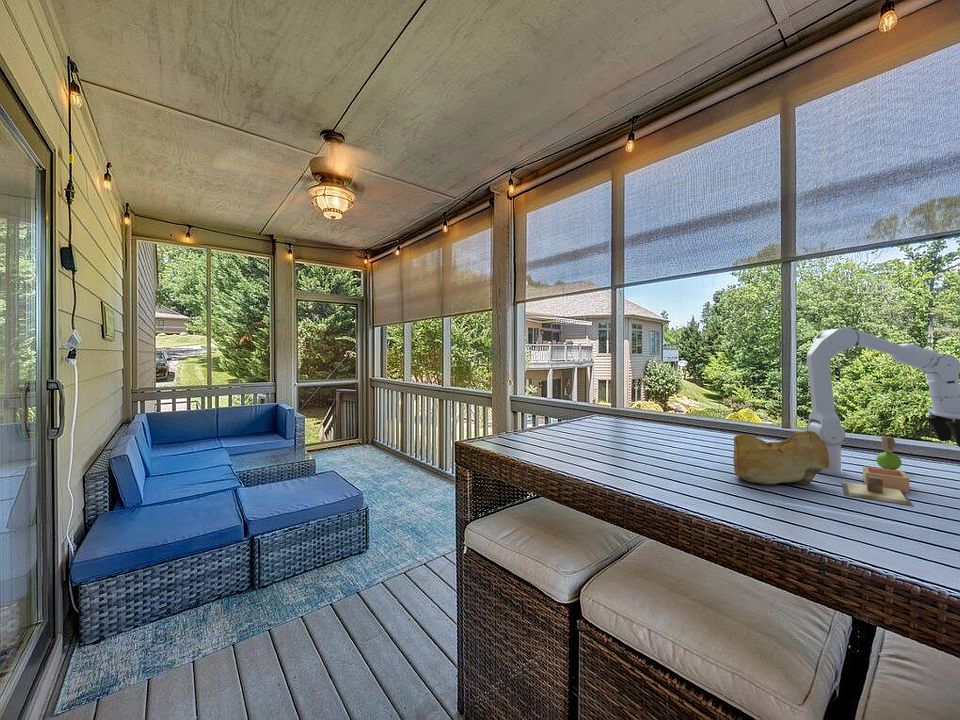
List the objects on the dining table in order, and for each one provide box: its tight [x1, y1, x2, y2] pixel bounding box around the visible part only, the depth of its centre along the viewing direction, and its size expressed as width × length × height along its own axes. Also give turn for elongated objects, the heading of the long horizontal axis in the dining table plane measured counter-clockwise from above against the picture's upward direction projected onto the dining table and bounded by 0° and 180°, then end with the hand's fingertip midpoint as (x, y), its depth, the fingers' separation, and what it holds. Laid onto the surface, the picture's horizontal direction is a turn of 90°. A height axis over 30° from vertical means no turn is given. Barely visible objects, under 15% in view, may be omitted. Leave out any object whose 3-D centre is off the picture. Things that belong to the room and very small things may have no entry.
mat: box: [840, 483, 915, 508], centre depth 100 cm, size 12×12×1 cm
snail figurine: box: [876, 431, 903, 470], centre depth 122 cm, size 5×6×12 cm
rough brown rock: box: [732, 430, 829, 485], centre depth 115 cm, size 23×16×15 cm
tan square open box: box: [862, 465, 910, 493], centre depth 107 cm, size 8×8×4 cm
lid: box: [845, 475, 907, 504], centre depth 100 cm, size 10×10×4 cm
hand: (954, 443), depth 112 cm, fingers open, 7 cm apart
